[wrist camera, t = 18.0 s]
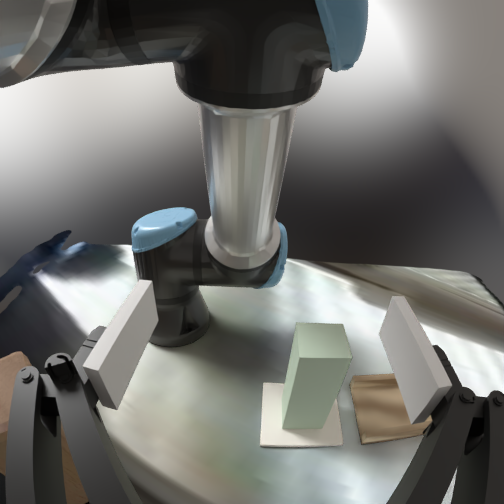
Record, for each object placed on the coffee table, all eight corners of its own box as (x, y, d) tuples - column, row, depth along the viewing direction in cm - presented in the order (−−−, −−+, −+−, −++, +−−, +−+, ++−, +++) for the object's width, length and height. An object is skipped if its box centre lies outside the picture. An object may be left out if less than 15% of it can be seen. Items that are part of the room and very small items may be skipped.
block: (83, 439, 31) (21, 345, 22) (117, 488, 25) (46, 412, 16) (35, 462, 24) (-44, 374, 15) (64, 516, 18) (-33, 448, 9)
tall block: (281, 397, 42) (296, 322, 35) (318, 398, 42) (343, 323, 35) (281, 428, 37) (299, 357, 30) (322, 428, 37) (352, 357, 29)
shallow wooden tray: (349, 384, 45) (353, 375, 44) (413, 379, 44) (418, 371, 43) (361, 444, 34) (366, 437, 33) (432, 432, 33) (439, 424, 32)
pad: (263, 384, 45) (263, 382, 45) (333, 386, 45) (334, 383, 45) (260, 446, 34) (260, 444, 34) (342, 445, 34) (343, 443, 34)
